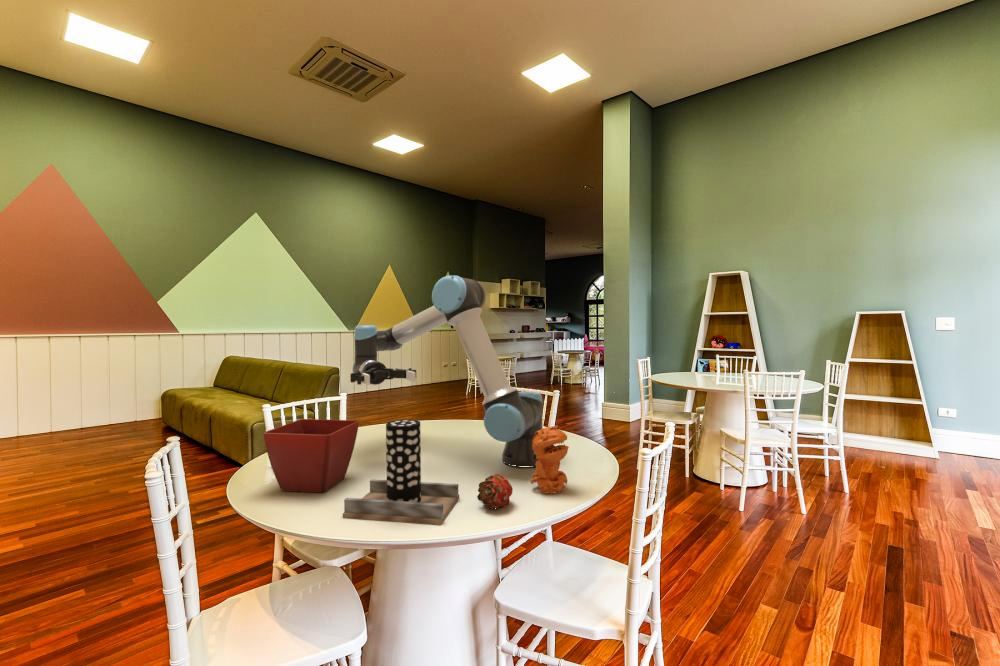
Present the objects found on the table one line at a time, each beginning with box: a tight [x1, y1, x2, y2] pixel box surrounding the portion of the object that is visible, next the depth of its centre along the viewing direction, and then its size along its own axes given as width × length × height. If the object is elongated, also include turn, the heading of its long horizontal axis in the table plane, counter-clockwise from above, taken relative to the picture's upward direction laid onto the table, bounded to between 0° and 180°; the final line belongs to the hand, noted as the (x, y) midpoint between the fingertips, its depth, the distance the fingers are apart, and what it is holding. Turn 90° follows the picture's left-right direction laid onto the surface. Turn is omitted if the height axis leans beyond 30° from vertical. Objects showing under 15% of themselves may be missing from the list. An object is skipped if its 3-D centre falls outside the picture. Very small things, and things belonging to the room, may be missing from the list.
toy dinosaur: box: [529, 424, 570, 494], centre depth 124 cm, size 11×11×18 cm
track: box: [342, 478, 460, 526], centre depth 112 cm, size 24×16×4 cm, turn 80°
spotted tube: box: [385, 419, 422, 502], centre depth 112 cm, size 8×8×20 cm
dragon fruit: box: [476, 473, 513, 510], centre depth 113 cm, size 8×8×12 cm
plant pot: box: [263, 418, 360, 494], centre depth 129 cm, size 19×19×17 cm
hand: (392, 378), depth 132 cm, fingers open, 13 cm apart
